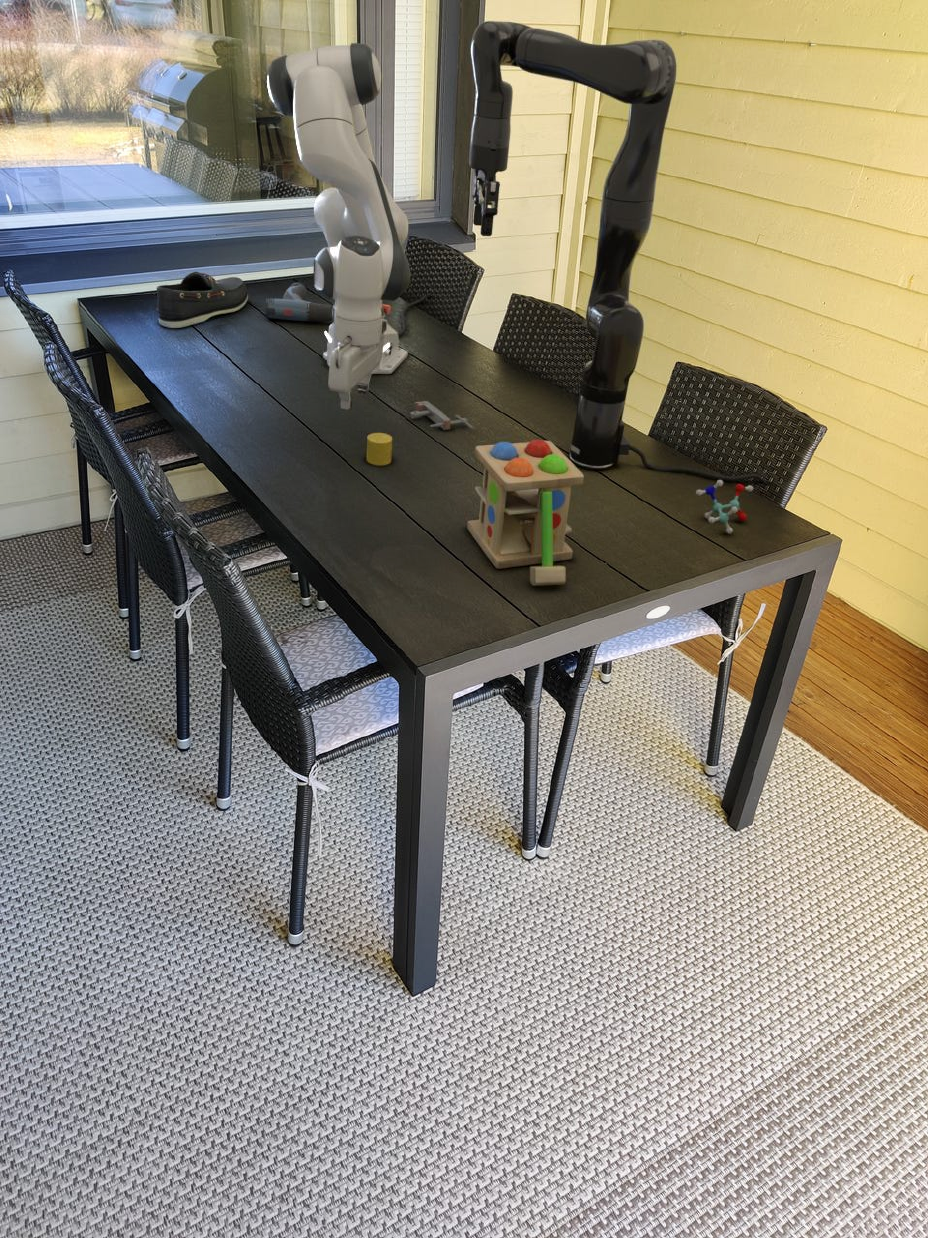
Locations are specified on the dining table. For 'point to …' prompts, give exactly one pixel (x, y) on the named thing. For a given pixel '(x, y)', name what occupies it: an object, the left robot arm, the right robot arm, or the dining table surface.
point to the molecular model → (719, 507)
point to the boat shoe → (199, 299)
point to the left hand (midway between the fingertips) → (354, 400)
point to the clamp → (436, 416)
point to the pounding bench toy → (525, 507)
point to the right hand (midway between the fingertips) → (482, 230)
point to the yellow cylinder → (379, 449)
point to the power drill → (297, 306)
